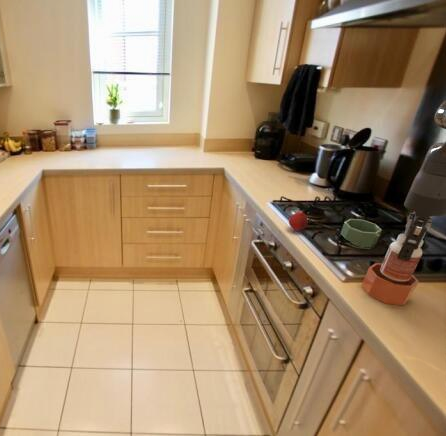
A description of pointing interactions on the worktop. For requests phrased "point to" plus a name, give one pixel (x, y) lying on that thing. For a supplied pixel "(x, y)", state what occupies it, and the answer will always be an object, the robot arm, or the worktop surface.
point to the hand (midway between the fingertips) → (404, 253)
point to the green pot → (361, 233)
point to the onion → (298, 221)
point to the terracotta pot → (387, 287)
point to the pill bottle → (400, 261)
